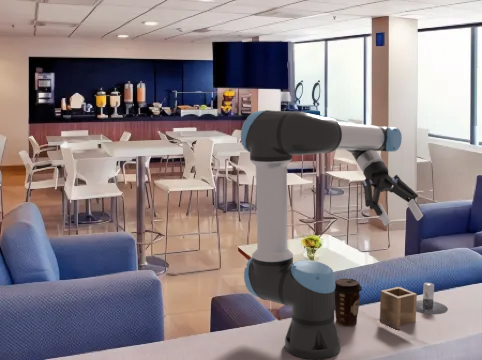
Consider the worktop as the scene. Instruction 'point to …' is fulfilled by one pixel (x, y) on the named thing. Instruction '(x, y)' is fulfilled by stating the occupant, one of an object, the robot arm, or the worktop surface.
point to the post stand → (429, 302)
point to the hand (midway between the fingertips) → (404, 220)
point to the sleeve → (397, 306)
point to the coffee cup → (347, 301)
